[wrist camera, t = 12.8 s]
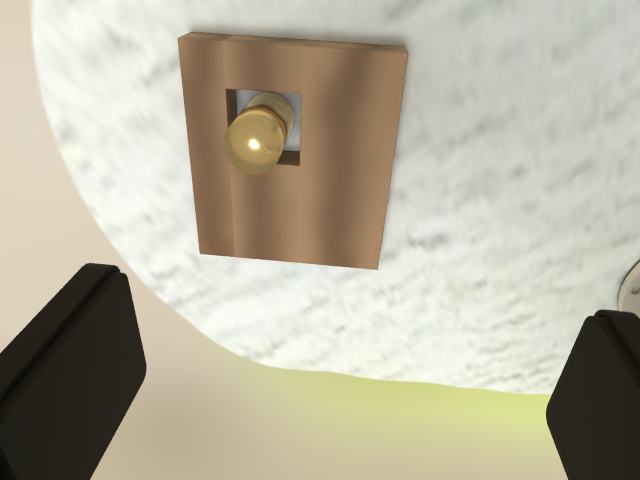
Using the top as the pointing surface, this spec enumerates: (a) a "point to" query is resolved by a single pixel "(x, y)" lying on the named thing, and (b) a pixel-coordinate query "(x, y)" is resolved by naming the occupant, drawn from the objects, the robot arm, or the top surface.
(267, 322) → the top surface
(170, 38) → the top surface
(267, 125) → the brass cylinder
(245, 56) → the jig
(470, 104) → the top surface
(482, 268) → the top surface
